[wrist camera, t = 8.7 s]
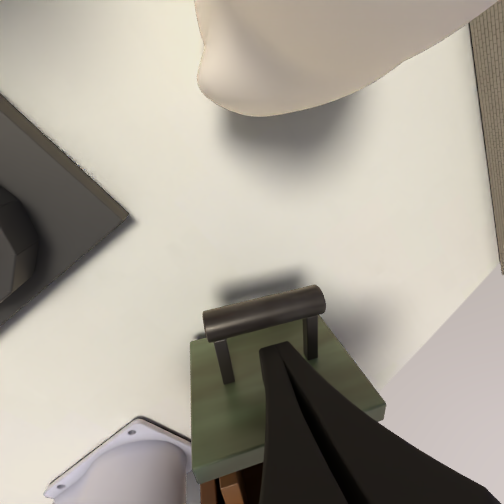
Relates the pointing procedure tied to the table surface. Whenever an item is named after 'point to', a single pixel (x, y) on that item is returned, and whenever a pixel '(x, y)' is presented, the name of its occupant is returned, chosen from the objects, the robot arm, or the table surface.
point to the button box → (43, 212)
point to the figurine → (313, 47)
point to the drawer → (258, 383)
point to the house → (492, 102)
